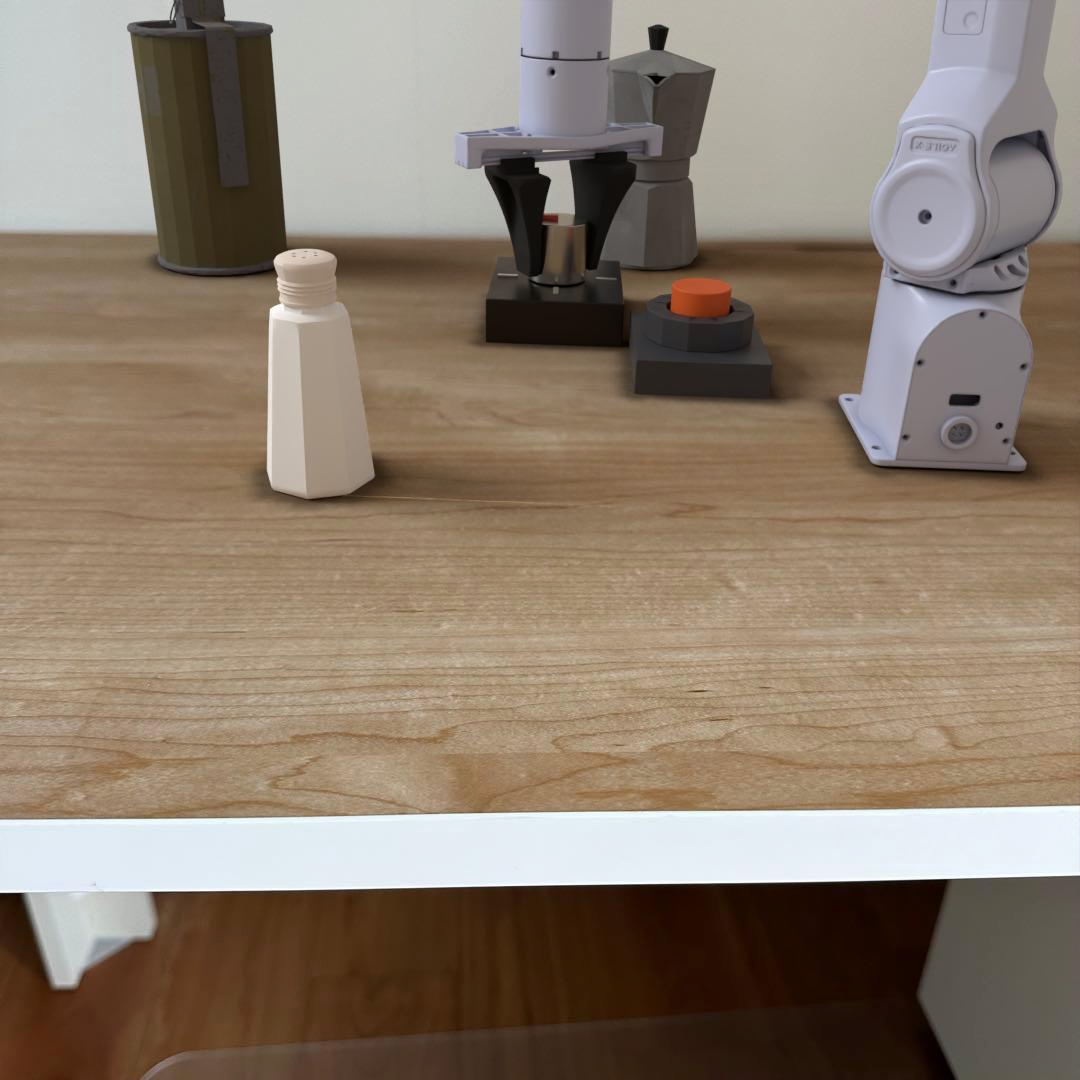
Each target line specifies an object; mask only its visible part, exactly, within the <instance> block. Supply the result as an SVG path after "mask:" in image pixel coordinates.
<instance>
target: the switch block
mask: <svg viewBox="0 0 1080 1080" xmlns="http://www.w3.org/2000/svg"><path fill="white" fill-rule="evenodd" d="M671 297H672V293H665V294H660V295H657V296H656V297H653V298H651V299H649V300H647V302H646V304H645V305H646V306H645V310H643V309H630V313H629V326H628V339H627V340H628V349H629V351H628V352H629V360H630V368H631V370H630V371H631V379H632V390H633V395H648V396H649V395H652V396H653V395H654V396H674V397H675V396H677V397H680V396H681V397H702V398H704V397H705V398H727V399H728V398H729V399H731V398H733V399H754V400H755V399H757V400H769V399H770V390H771V384H772V376H773V375H772V374H773V367H774V365H773V362H772V360H771V358H770V355H769V352H768V350H767V349H766V345H765V344H764V341H763V339H762V336H761V334H760V332H759V330H758V327H757V325H756V322H755V311H754V310H753V308H752V305H750V304H748V303H746V302H744V301H742V300H739V299H737V298H735V297H731V300H730V309H729V315H728V316H721V317H714V318H706V317H691V316H686V315H681V314H676V313H674V312H672V311H670V309H671Z"/></svg>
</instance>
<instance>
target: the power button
mask: <svg viewBox="0 0 1080 1080" xmlns="http://www.w3.org/2000/svg"><path fill="white" fill-rule="evenodd" d="M671 285H672V287H671V288H672V289H671V294H672V297H671V309H670V311H672V312H674V313H676V314H681V315H686V316H691V317H706V318H714V317H721V316H728V315H729V309H730V300H731V298H732V289H733V288H732V286H731V285H730V284H729V283H727V282H725V281H722V280H718V279H715V278H706V277H686V278H681V279H677V280H675V281H674V282H673V283H672V284H671Z"/></svg>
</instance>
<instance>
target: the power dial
mask: <svg viewBox="0 0 1080 1080" xmlns="http://www.w3.org/2000/svg"><path fill="white" fill-rule="evenodd" d="M587 244H588V219H586V218H585V217H582V216H579V215H575V213H574V214H573V213H567V212H566V213H563V212H547V213H545V212H544V216H543V223H542V240H541V266H540V272H539V276H536V277H529V279H530V280H532V281H534V282H537V283H540V284H546V285H558V286H562V285H574V284H578V283H581V282H583V281H585V279H586V265H587Z"/></svg>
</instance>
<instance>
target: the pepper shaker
mask: <svg viewBox="0 0 1080 1080" xmlns="http://www.w3.org/2000/svg"><path fill="white" fill-rule="evenodd" d="M274 266H275V268H274V269H275V271H276V274H277V278H276V281H277V283H276V285H277V290H278V291H279V297H278V300H279V304H276V305H274V306H273V307H271V308H270V309H269V320H268V361H267V363H268V364H267V365H268V367H267V368H268V371H267V430H266V431H267V432H266V433H267V435H266V436H267V439H266V443H267V444H266V472H267V475H268V479H269V483H270V487H271V489H272V490H273V491H276V492H279V493H284V494H287V495H290V496H295V497H297V498H301V499H305V500H312V499H321V498H331V497H339V496H347V495H350V494H352V493H354V492H355V491H357V490H358V489H359V488H361V487H362V486H364V485H365V484H367V483H369V482H370V481H372V480H374V478H375V477H376V474H375V468H374V462H373V457H372V456H373V455H372V449H371V443H370V436H369V431H368V424H367V417H366V412H365V411H366V410H365V406H364V399H363V393H362V386H361V379H360V373H359V367H358V366H359V365H358V361H357V354H356V349H355V341H354V335H353V330H352V324H351V319H350V315H349V312H348V310H347V308H346V307H345V304H343V303H342V302H341V301H337V299H338V296H337V294H336V293H337V292H336V290H337V288H338V286H337V284H338V282H337V276H336V275H335V274H336V270H337V266H338V259H337V257H336V256H335V254H333V253H331V252H328V251H326V250H322V249H317V248H295V249H289V251H286V252H283V253H281V254H279V255H277V256H276V258H275V259H274Z"/></svg>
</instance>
